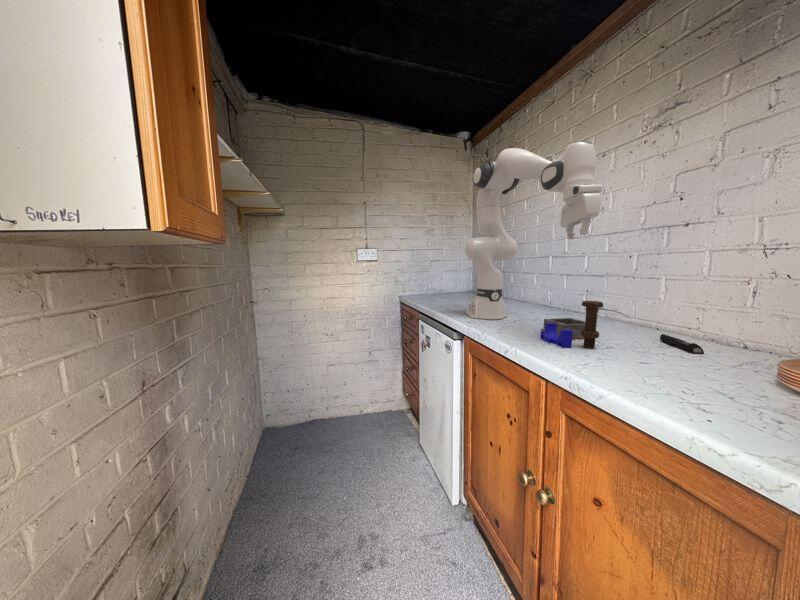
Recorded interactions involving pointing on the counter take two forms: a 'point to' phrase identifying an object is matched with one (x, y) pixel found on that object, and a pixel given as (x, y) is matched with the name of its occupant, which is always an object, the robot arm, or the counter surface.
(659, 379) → the counter surface
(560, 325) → the bolt stand
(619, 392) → the counter surface
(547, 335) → the cable clip
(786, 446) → the counter surface
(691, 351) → the electric trimmer
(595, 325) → the bolt
